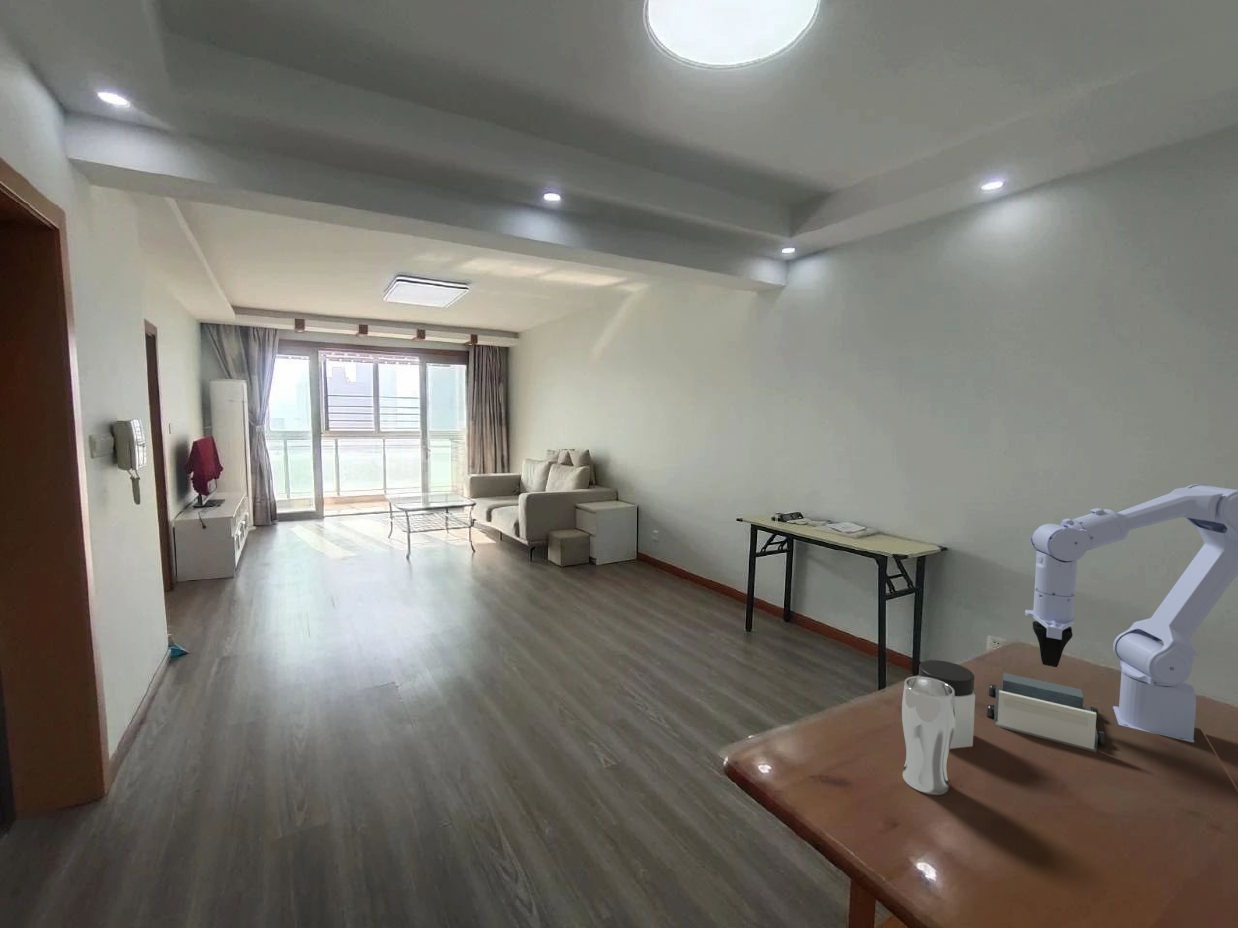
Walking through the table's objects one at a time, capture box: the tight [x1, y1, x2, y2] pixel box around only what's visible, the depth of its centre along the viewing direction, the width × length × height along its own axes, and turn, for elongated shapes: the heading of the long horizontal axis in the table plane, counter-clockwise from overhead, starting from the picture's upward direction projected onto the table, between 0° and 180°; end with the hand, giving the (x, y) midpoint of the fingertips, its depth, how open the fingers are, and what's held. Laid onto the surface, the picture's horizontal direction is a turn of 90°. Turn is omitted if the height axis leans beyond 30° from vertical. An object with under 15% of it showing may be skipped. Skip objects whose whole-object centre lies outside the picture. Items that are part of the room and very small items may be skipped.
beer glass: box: [901, 675, 955, 796], centre depth 83 cm, size 7×7×15 cm
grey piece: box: [986, 672, 1106, 750], centre depth 101 cm, size 16×16×4 cm
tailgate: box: [994, 689, 1097, 753], centre depth 94 cm, size 14×1×7 cm, turn 55°
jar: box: [918, 659, 976, 750], centre depth 95 cm, size 9×8×12 cm
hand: (1049, 664), depth 101 cm, fingers closed
